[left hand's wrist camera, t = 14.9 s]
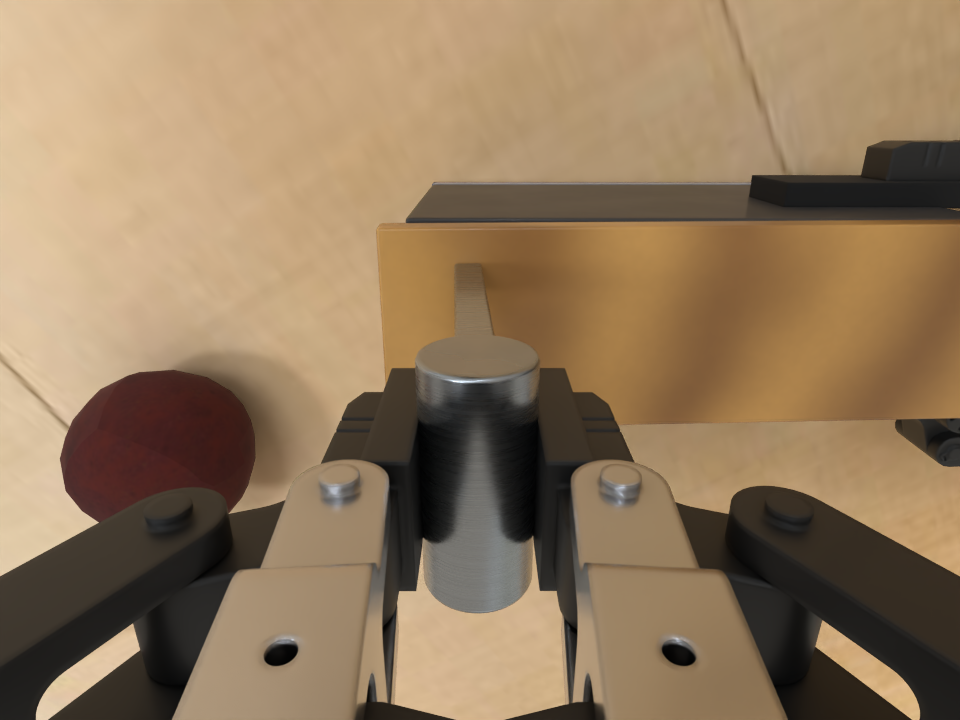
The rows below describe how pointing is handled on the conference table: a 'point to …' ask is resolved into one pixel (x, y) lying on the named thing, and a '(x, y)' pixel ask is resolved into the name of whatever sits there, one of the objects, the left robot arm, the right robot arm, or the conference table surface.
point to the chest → (630, 204)
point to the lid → (646, 348)
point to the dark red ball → (157, 442)
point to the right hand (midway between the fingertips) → (752, 285)
